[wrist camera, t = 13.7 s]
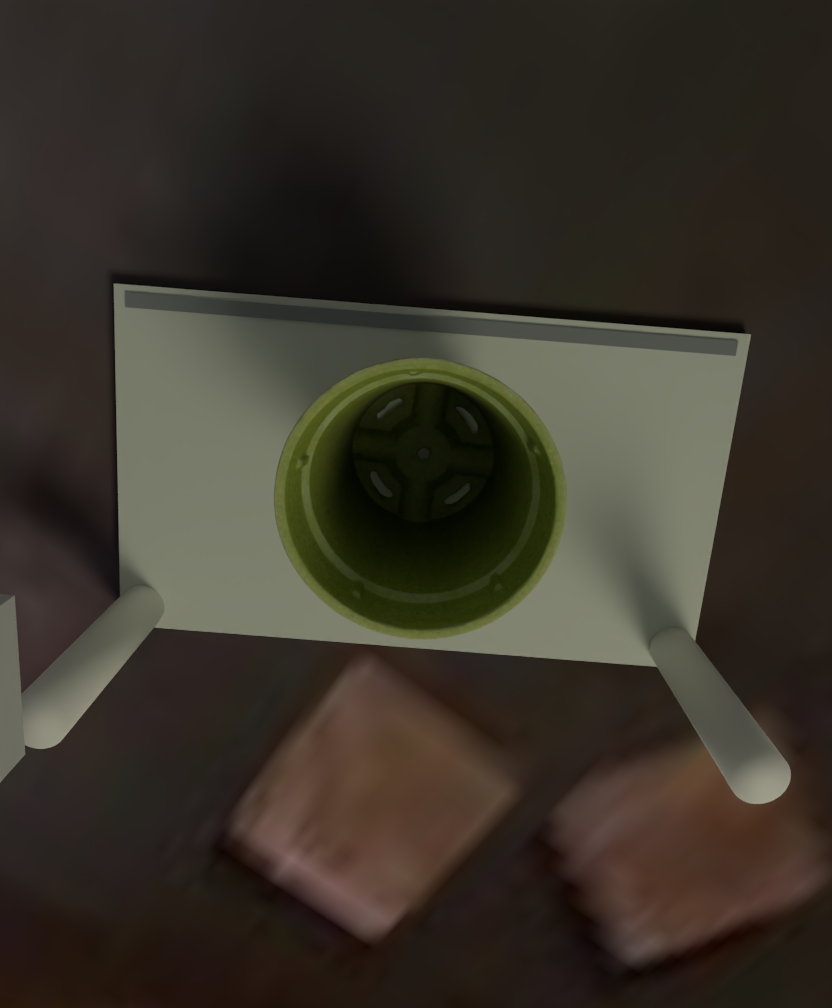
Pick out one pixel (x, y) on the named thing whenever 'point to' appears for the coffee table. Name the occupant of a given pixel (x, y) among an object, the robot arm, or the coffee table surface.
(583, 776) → the coffee table surface
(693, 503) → the mat
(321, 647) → the coffee table surface
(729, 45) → the coffee table surface
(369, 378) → the plant pot
